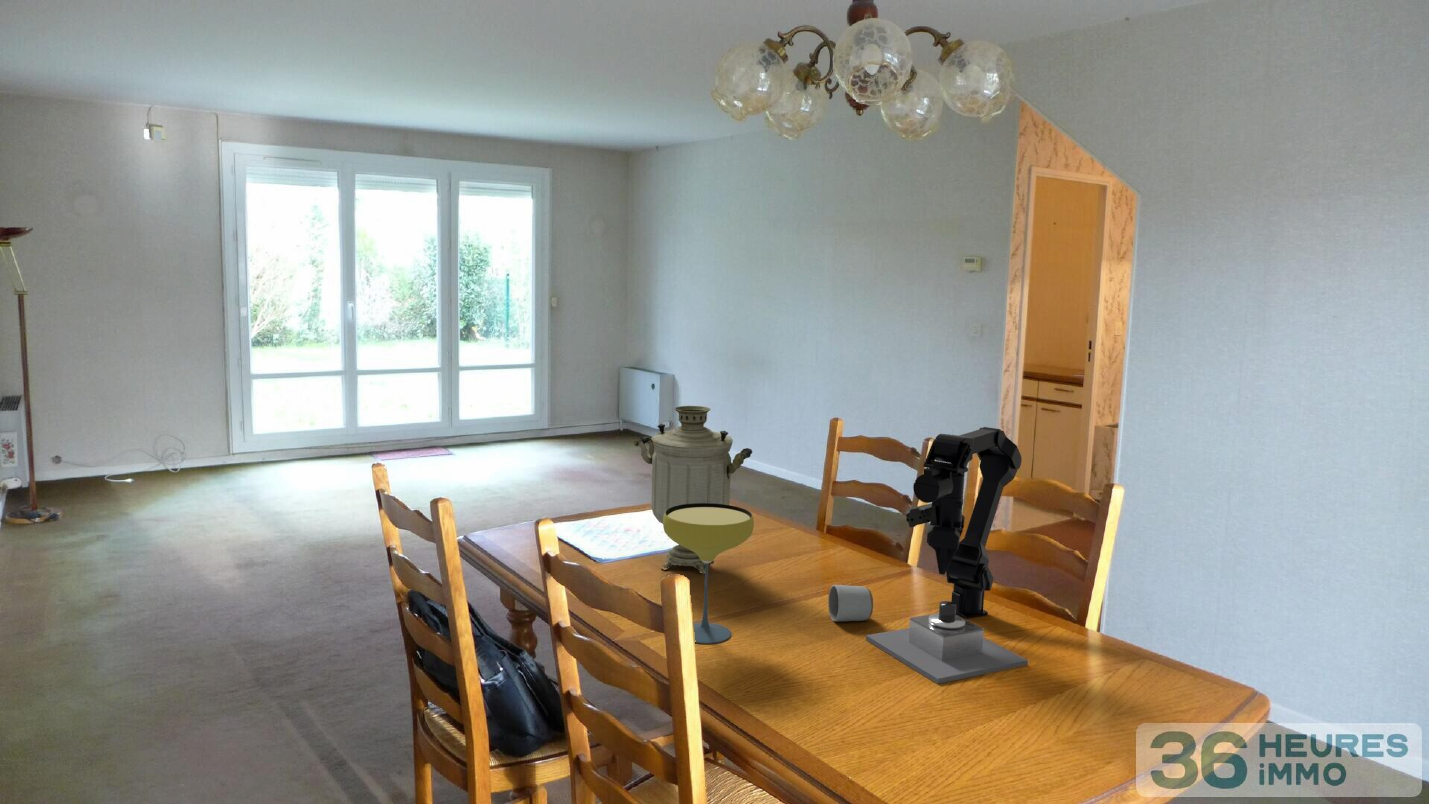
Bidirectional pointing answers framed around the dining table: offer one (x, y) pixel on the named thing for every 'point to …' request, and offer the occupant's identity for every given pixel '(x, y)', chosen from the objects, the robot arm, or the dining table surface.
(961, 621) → the plunger
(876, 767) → the dining table surface
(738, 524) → the cocktail glass
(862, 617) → the ceramic mug
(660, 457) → the samovar
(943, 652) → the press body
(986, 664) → the slate mat
